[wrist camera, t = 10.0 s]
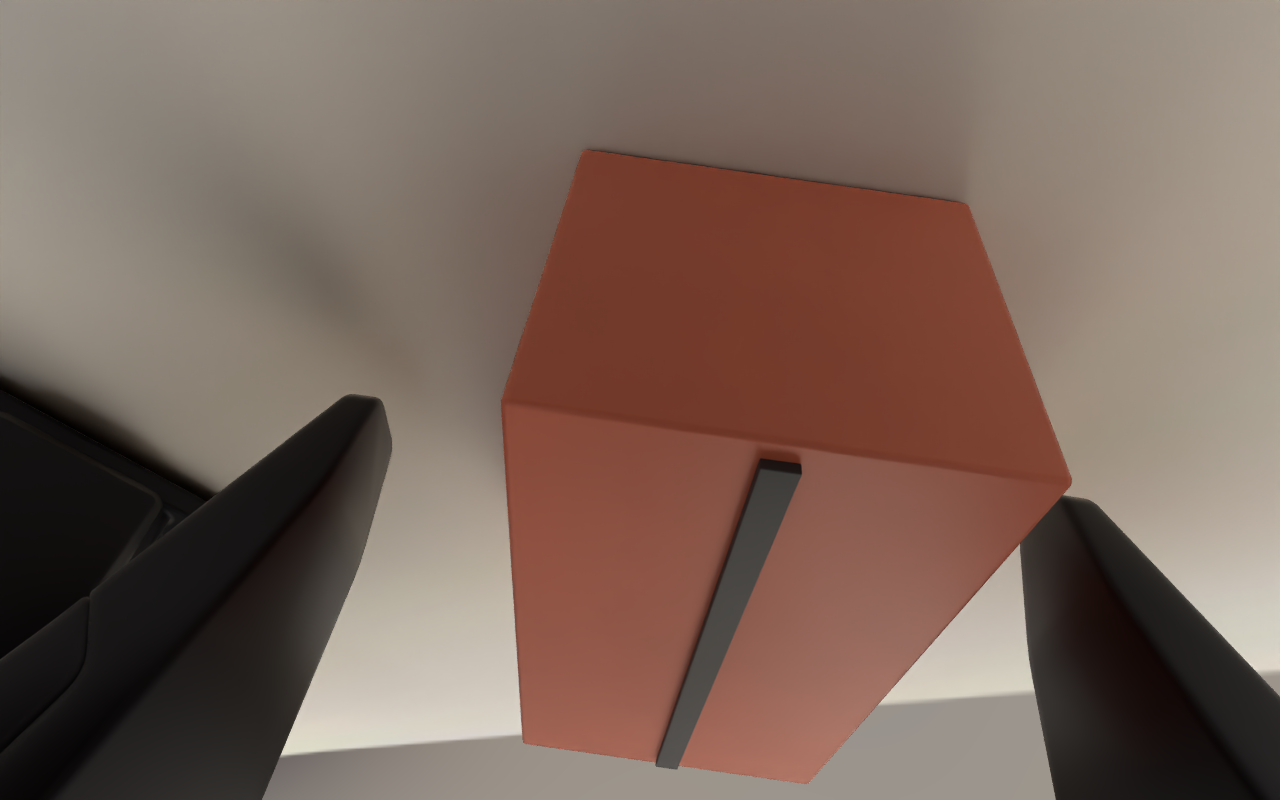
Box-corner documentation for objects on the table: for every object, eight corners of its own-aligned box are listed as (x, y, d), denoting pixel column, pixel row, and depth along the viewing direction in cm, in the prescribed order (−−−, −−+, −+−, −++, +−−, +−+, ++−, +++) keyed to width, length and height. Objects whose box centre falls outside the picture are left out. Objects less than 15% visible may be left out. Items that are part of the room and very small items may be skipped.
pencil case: (797, 558, 13) (809, 794, 10) (566, 526, 13) (519, 752, 10) (968, 201, 7) (1081, 494, 5) (582, 146, 7) (495, 411, 5)
